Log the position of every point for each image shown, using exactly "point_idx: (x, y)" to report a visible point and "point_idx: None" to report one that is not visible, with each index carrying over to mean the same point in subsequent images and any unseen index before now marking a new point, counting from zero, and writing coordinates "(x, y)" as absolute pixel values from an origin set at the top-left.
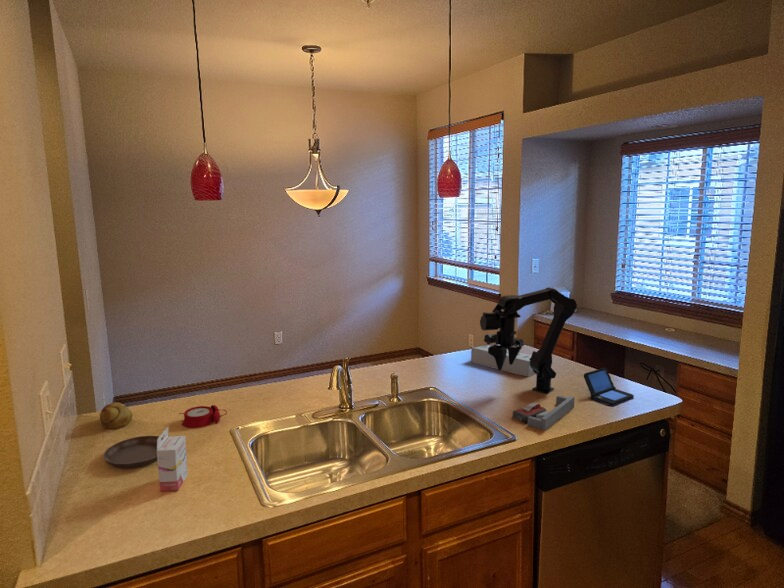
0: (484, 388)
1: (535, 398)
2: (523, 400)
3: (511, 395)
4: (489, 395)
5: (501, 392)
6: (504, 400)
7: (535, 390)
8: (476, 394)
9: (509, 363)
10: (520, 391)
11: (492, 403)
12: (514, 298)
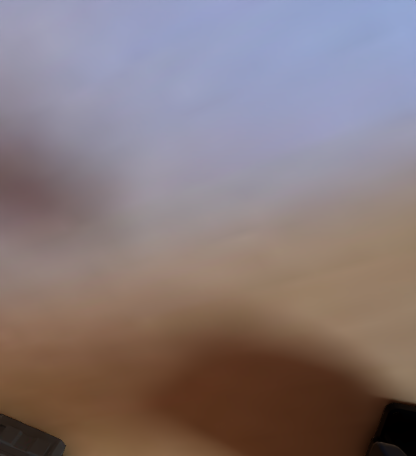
0: (248, 58)
1: (241, 436)
2: (167, 382)
3: (211, 299)
4: (122, 159)
5: (231, 219)
6: (97, 282)
7: (380, 423)
8: (81, 55)
9: (382, 452)
10: (323, 334)
11: (3, 228)
12: None
